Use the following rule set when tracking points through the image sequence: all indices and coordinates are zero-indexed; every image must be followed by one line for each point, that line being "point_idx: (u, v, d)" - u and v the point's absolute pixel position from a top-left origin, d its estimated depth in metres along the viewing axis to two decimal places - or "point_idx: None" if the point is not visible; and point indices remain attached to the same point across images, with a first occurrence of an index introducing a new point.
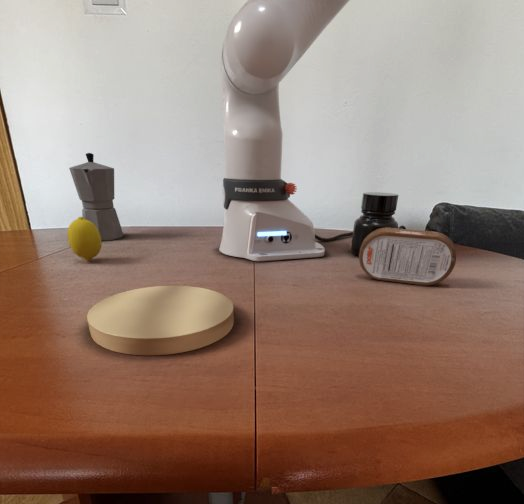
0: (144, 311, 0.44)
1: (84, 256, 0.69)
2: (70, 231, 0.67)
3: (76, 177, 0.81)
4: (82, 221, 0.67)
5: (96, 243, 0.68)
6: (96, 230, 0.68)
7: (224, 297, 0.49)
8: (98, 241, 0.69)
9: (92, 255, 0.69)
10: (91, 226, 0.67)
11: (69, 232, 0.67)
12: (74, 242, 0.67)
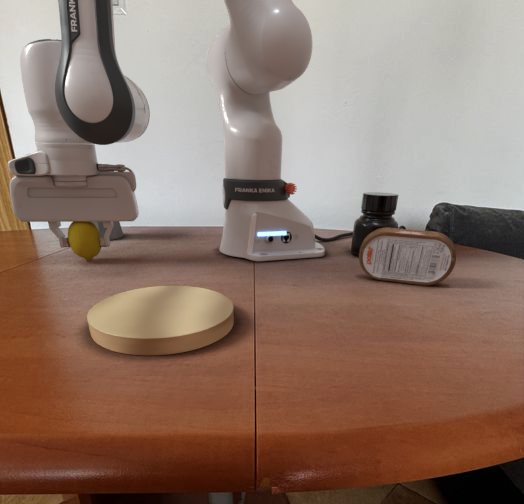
0: (144, 311, 0.44)
1: (84, 256, 0.69)
2: (70, 231, 0.67)
3: None
4: None
5: (96, 243, 0.68)
6: (96, 230, 0.68)
7: (224, 297, 0.49)
8: (98, 241, 0.69)
9: (92, 255, 0.69)
10: (91, 226, 0.67)
11: (69, 232, 0.67)
12: (74, 242, 0.67)
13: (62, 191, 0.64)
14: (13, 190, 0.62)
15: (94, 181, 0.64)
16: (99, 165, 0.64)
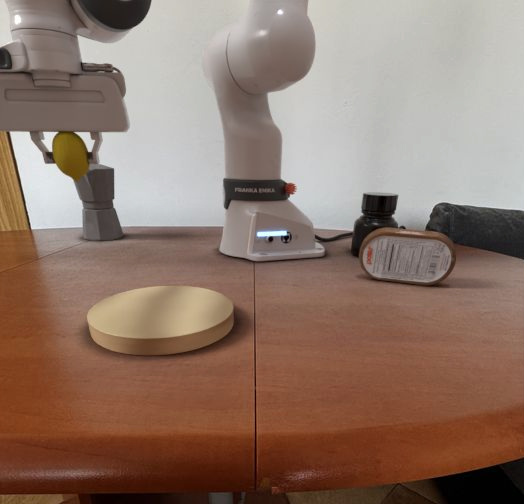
0: (144, 311, 0.44)
1: (71, 173, 0.63)
2: (54, 142, 0.60)
3: None
4: (67, 132, 0.60)
5: (83, 158, 0.62)
6: (83, 143, 0.62)
7: (224, 297, 0.49)
8: (85, 156, 0.62)
9: (80, 173, 0.63)
10: (78, 138, 0.61)
11: (53, 144, 0.60)
12: (59, 155, 0.60)
13: (44, 93, 0.57)
14: None
15: (78, 81, 0.57)
16: (84, 64, 0.57)
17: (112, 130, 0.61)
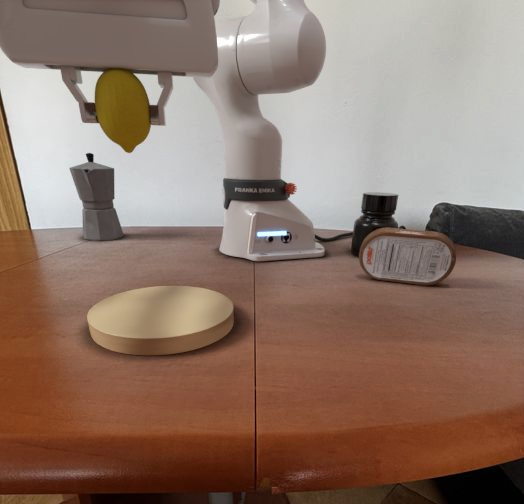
0: (144, 311, 0.44)
1: (123, 138, 0.39)
2: (100, 86, 0.37)
3: (76, 177, 0.81)
4: (121, 69, 0.37)
5: (144, 114, 0.39)
6: (145, 91, 0.39)
7: (224, 297, 0.49)
8: (147, 111, 0.39)
9: (136, 138, 0.40)
10: (137, 81, 0.38)
11: (98, 88, 0.37)
12: (107, 106, 0.37)
13: None
14: None
15: None
16: None
17: (194, 69, 0.38)
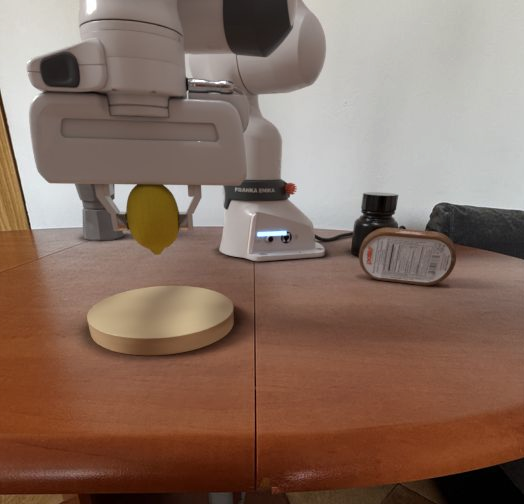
0: (144, 311, 0.44)
1: (153, 246, 0.40)
2: (132, 201, 0.38)
3: None
4: None
5: (174, 224, 0.40)
6: (174, 201, 0.40)
7: (224, 297, 0.49)
8: (177, 220, 0.40)
9: (166, 244, 0.41)
10: (168, 194, 0.39)
11: (131, 203, 0.38)
12: (139, 220, 0.38)
13: (124, 126, 0.35)
14: (35, 121, 0.33)
15: (182, 108, 0.35)
16: (190, 80, 0.35)
17: (223, 183, 0.39)
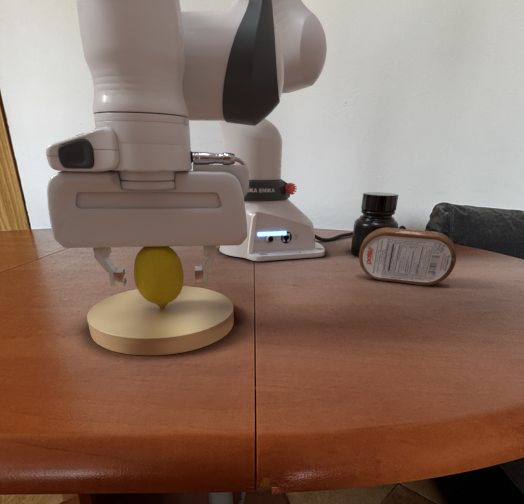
0: (144, 311, 0.44)
1: (159, 302, 0.43)
2: (140, 264, 0.41)
3: None
4: (159, 247, 0.41)
5: (178, 282, 0.43)
6: (179, 261, 0.43)
7: (224, 297, 0.49)
8: (181, 278, 0.43)
9: (170, 300, 0.44)
10: (173, 256, 0.42)
11: (138, 265, 0.41)
12: (146, 281, 0.41)
13: (134, 197, 0.38)
14: (53, 197, 0.36)
15: (187, 181, 0.38)
16: (195, 154, 0.38)
17: (225, 244, 0.42)
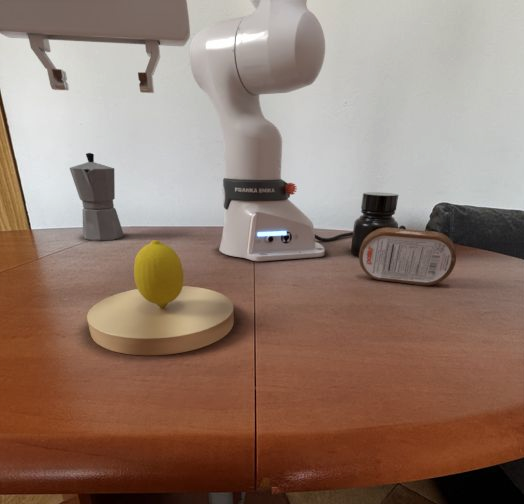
0: (144, 311, 0.44)
1: (159, 302, 0.43)
2: (140, 264, 0.41)
3: (76, 177, 0.81)
4: (159, 247, 0.41)
5: (178, 282, 0.43)
6: (179, 261, 0.43)
7: (224, 297, 0.49)
8: (181, 278, 0.43)
9: (170, 300, 0.44)
10: (173, 256, 0.42)
11: (138, 265, 0.41)
12: (146, 281, 0.41)
13: None
14: None
15: None
16: None
17: (167, 37, 0.40)
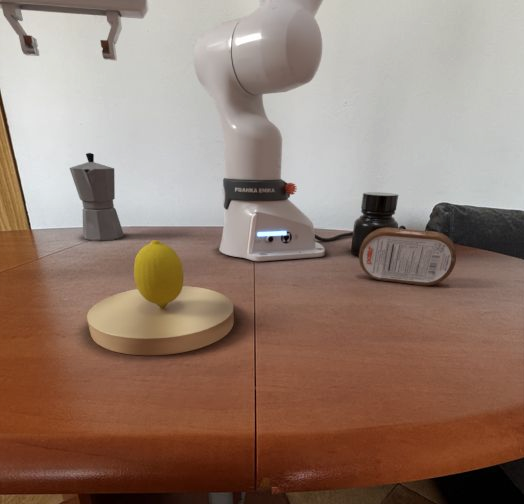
0: (144, 311, 0.44)
1: (159, 302, 0.43)
2: (140, 264, 0.41)
3: (76, 177, 0.81)
4: (159, 247, 0.41)
5: (178, 282, 0.43)
6: (179, 261, 0.43)
7: (224, 297, 0.49)
8: (181, 278, 0.43)
9: (170, 300, 0.44)
10: (173, 256, 0.42)
11: (138, 265, 0.41)
12: (146, 281, 0.41)
13: None
14: None
15: None
16: None
17: (125, 8, 0.45)
